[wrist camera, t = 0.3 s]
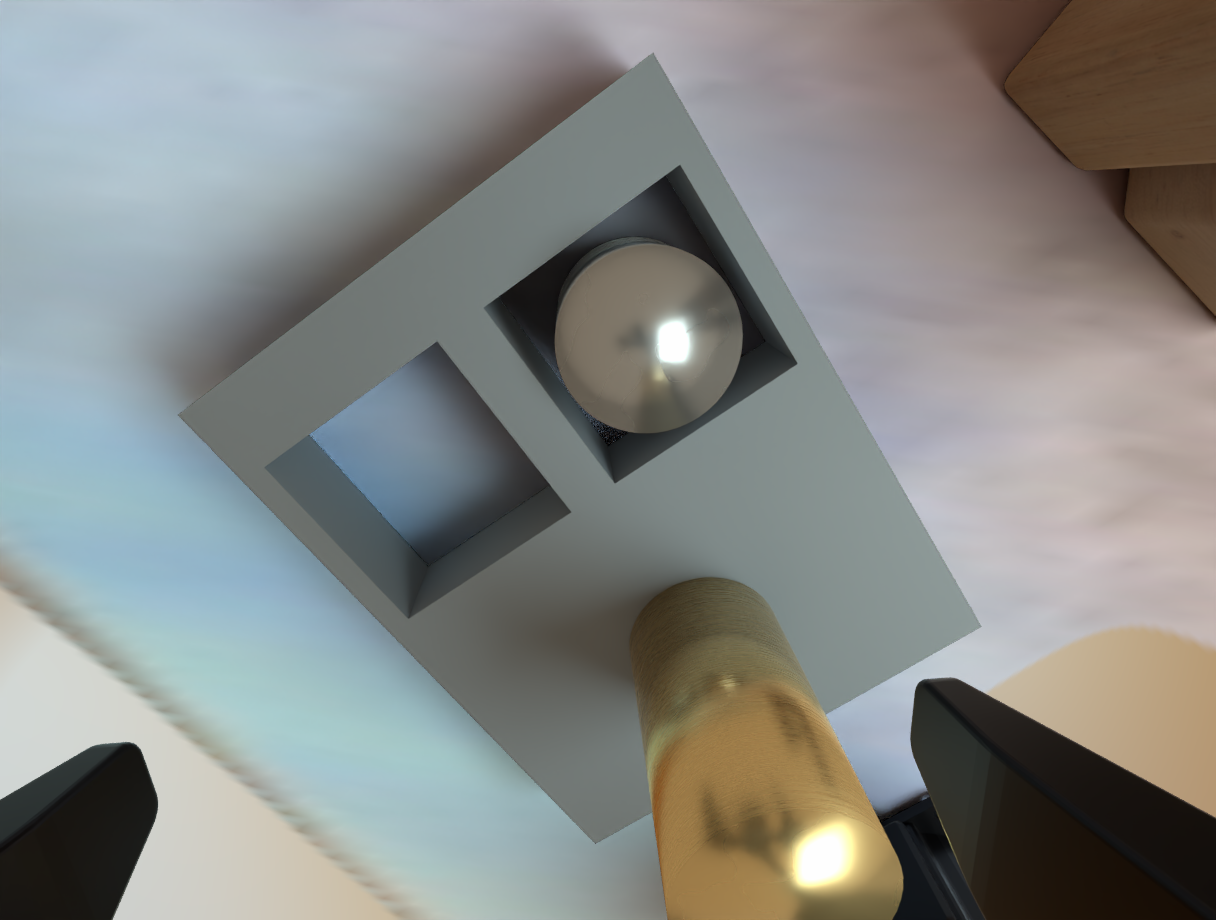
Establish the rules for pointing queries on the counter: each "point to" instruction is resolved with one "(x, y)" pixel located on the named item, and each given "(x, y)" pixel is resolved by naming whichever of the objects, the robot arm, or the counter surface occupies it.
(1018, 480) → the counter surface
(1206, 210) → the wooden block
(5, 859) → the robot arm
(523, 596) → the jig
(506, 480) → the counter surface
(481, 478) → the counter surface
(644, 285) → the chrome sphere
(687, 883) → the brass cylinder
